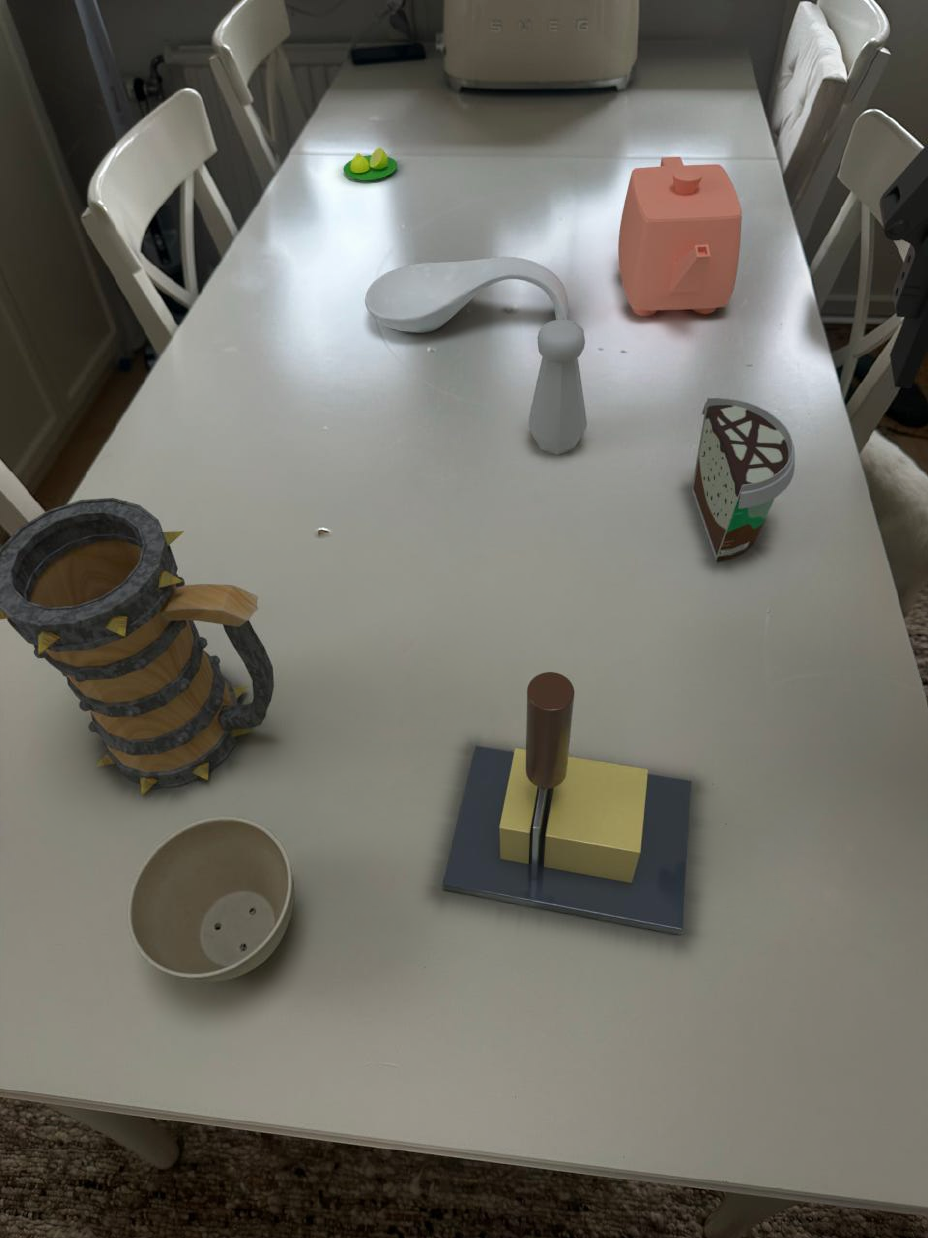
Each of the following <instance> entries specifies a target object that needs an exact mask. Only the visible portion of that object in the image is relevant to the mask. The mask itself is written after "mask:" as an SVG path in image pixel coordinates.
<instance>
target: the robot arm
mask: <svg viewBox="0 0 928 1238" xmlns="http://www.w3.org/2000/svg"><path fill="white" fill-rule="evenodd" d="M878 204H879V211H880V217H881V223H882V228H883V233H884V236H885V237H886V238H887V239H888V240H890V241H893V242H894V241H895V242H896V241H903V242H907V243H908V244H909V247H908V249H907V252H906V255H905V258H904V260H903V263H902V265H901V268H900V271H899V273H898V276H897V280H896V281H895V285H894V287H893V291H892V294H893V303H894V309H895V315H896V317H897V318H903V320H902V323H901V326H900V328H899V331H898V333H897V336H896V338H895V340H894V343H893V345H892V348H891V351H890V354H889V357H890V364H891V371H892V376H893V377H892V378H893V384H894V387H895V388H903V389H912V388H913V386H914V382H915V380H916V379H917V375H918V373H919V371H920V370H921V369H920V368H921V366H922V364H923V362H924V359H925V357H926V354H927V352H928V142H927V143H926V144H925V146H924V147H923V148H922V149H921V150H920V151H919V152H918V154H917V155H916V156H915V157H914V158H913V160H911V162H909V164H908V165H907V166H906V167H905V168H904V170H903V171H901V173H900V174H899V175H898V176H897V178H896V179H895V180H894V181H893V182H892V184H890V185H889V187H888V188H887V189H886V190H885V191H884V192H883V193H882V195H881V196H880V198H879V203H878Z"/></svg>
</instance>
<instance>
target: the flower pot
mask: <svg viewBox="0 0 928 1238" xmlns="http://www.w3.org/2000/svg"><path fill="white" fill-rule="evenodd" d="M294 889H295V888H294V876H293V871H292V865H291V862H290V859H289V856H288V854H287V851H286V850H285V848H284V846H283V844H282V843H281V841H280V840H279V839H278V837H277V836H276V835H275V834H274V833H273V832H271V831H270V830H269V829H268V828H267V827H265V826H264V825H262V824H260V823H259V822H256V821H254V820H251V819H248V818H245V817H242V816H241V817H240V816H231V815H220V816H211V817H207V818H203V819H199V820H196V821H194V822H191V823H189V824H187V825H184V826H182V827H181V828H179V829H177V830H176V831H174V832H173V833H171V834H170V835H168V836H167V837H166V838H164V839H163V840H162V841H161V842H160V843H158V845H157V846H156V847H155V848H154V849H153V850H152V851H151V852H150V853H149V855H148V856H147V857H146V858H145V860H144V861H143V863H142V864H141V866H140V868H139V869H138V870H137V873H136V875H135V877H134V878H133V881H132V885H131V887H130V890H129V895H128V900H127V907H126V920H127V928H128V932H129V935H130V938H131V941H132V943H133V945H134V946H135V947H134V948H136V950H137V952H138V953H139V954H140V955H141V957H142V958H143V959H144V960H145V961H146V962H148V963H149V964H150V965H151V966H152V967H154V968H156V969H157V970H159V971H161V972H163V973H165V974H167V975H169V976H172V977H175V978H178V979H181V980H185V981H190V982H197V983H214V982H215V983H216V982H223V981H228V980H231V979H235V978H238V977H240V976H243V975H245V974H247V973H249V972H251V971H253V970H254V969H256V968H257V967H259V966H260V965H262V964H264V962H265V961H266V960H267V959H268V958H269V957H270V956H271V955H272V954H273V953H274V951H276V949H277V947H278V946H279V945H280V943H281V941H282V940H283V938H284V936H285V933H286V931H287V929H288V926H289V923H290V920H291V916H292V913H293V905H294V895H295V894H294V891H295V890H294ZM218 928H219V929H218ZM245 947H246V948H245Z"/></svg>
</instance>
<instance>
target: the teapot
mask: <svg viewBox="0 0 928 1238" xmlns="http://www.w3.org/2000/svg"><path fill="white" fill-rule="evenodd" d="M659 165H660V166H650V167H649V166H648V167H647V166H646V167H635V168H634V169H633V170H632V171H631V175H630V178H629V182H628V186H627V190H626V195H625V198H624V204H623V208H622V213H621V217H620V218H621V220H620V225H619V233H618V241H617V242H618V243H617V245H618V246H617V253H618V254H617V255H618V266H619V273H620V279H621V283H622V287H623V290H624V292H625V296H626V298H627V301H628V304H629V305H630V308H632V309H631V310H632V312H633V313H634V314H635V315H637V316H640V317H651V316H653V315H655V314H656V313H657V311H679V310H680V311H681V310H692V311H694V312H695V313H697V314H703V315H707V314H711V313H714V312H715V311H716V310H717V308H725V307H727V305H728V303H729V302H730V299H731V297H732V294H733V292H734V290H735V285H736V281H737V280H736V279H737V275H738V269H739V267H738V266H739V260H740V253H741V251H740V250H741V237H742V221H743V220H742V219H743V212H742V206H741V203H740V200H739V197H738V194H737V191H736V188H735V187H734V184H733V182H732V180H731V178H730V177H729V174H728V172H727V171H726V170H725V168H724V167H723V166H722V165H721V164H719V163H718V164H714V163H713V164H685V165H684V162H683V160H682V158H681V156H664V157H663V156H662V157H661V159H660V164H659Z"/></svg>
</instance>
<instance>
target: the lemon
mask: <svg viewBox="0 0 928 1238" xmlns="http://www.w3.org/2000/svg"><path fill="white" fill-rule="evenodd" d="M397 168H398V162H397V161H396V160H395V159H394V158H392V157H390V156H388V155H387V153H386V152H385V150H384V149H383V148H382V147H377V148H376V149H375V150H373V153H372V154H368V155H361V153H360V152H357V153H356V154H355V156H354V157H353V158H352V159H351V160H350V161H348V162H347V163H345V164H344V166H343V173H344V174H345V175H346V176H347V177H349V178H352V179H355V180H359V181H377V180H379V179H383V178H386V177H387V176H389V175H391V174H393V173H394V172H395V171H396V170H397Z"/></svg>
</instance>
